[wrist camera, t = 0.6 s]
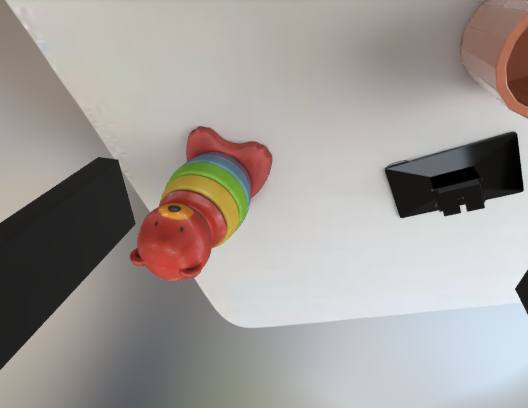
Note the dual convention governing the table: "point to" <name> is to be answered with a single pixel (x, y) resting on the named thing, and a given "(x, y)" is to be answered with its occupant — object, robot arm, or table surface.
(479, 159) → the build plate
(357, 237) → the table surface
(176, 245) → the stacking bear
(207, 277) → the table surface
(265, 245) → the table surface
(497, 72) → the pen cup
